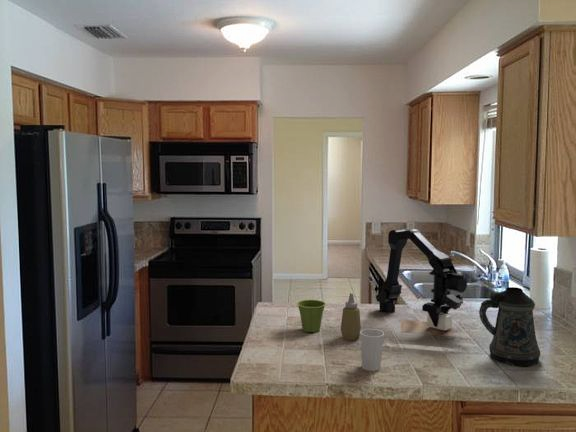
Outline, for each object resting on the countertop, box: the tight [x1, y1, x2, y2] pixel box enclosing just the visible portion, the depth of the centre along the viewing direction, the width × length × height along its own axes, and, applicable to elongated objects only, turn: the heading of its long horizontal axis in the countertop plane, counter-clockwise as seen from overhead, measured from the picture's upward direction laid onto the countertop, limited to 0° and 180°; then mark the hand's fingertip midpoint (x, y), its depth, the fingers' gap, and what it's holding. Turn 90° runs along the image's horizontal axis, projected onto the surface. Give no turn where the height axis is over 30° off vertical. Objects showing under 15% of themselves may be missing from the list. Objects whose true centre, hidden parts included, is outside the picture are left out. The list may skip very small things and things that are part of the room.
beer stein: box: [478, 286, 541, 368], centre depth 175 cm, size 16×19×25 cm
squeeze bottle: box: [340, 292, 362, 342], centre depth 195 cm, size 8×8×18 cm
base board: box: [400, 319, 454, 338], centre depth 204 cm, size 20×16×2 cm
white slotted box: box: [426, 313, 453, 330], centre depth 203 cm, size 6×8×5 cm
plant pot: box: [296, 299, 327, 333], centre depth 205 cm, size 12×12×11 cm
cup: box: [359, 328, 385, 372], centre depth 168 cm, size 8×8×12 cm
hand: (439, 324), depth 203 cm, fingers closed on white slotted box, 6 cm apart
